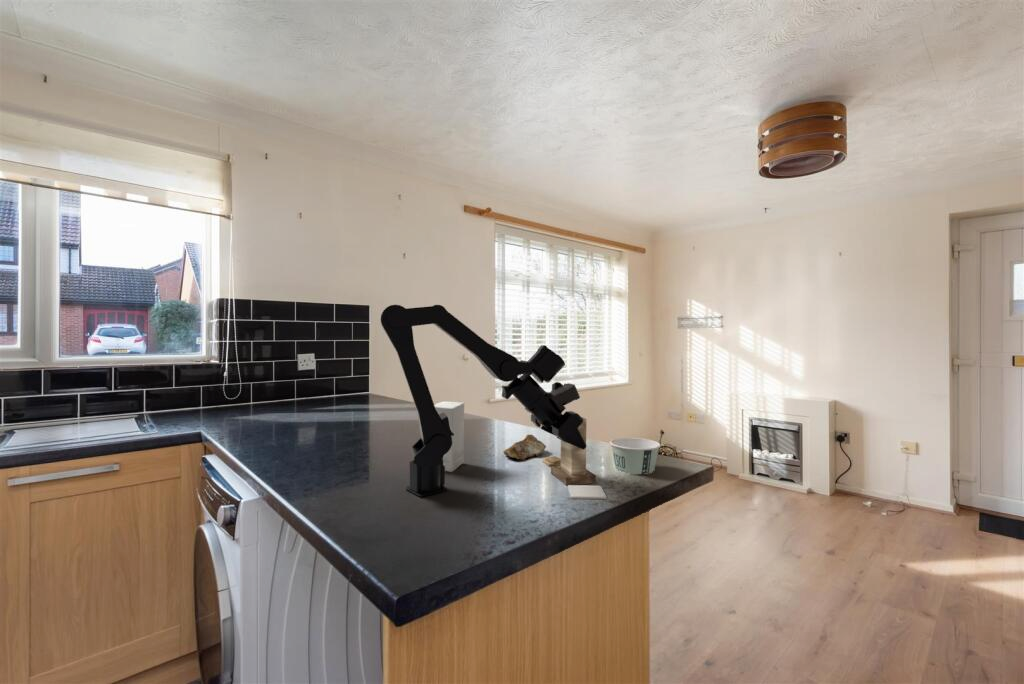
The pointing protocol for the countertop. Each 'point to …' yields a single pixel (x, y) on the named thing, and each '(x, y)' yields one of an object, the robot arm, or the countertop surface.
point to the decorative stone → (525, 448)
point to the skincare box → (457, 427)
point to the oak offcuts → (552, 461)
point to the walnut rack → (573, 477)
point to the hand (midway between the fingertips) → (578, 444)
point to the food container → (634, 455)
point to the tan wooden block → (574, 455)
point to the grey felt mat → (586, 492)
